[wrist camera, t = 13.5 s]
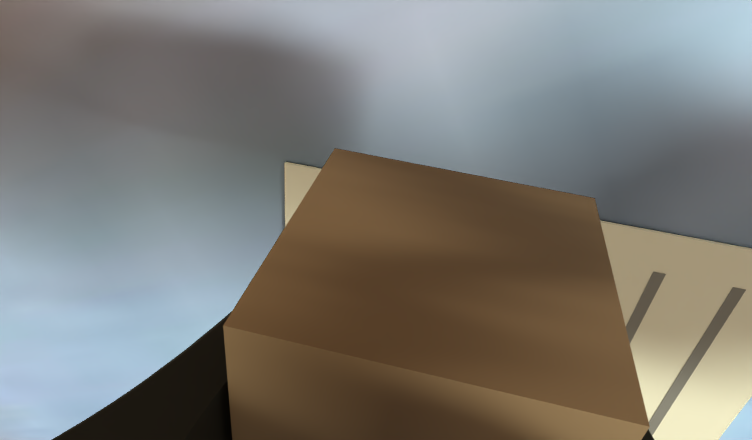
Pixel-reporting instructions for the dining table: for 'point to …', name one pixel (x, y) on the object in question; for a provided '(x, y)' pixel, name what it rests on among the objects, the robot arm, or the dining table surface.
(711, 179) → the dining table surface
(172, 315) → the dining table surface
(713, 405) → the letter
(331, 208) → the walnut block
